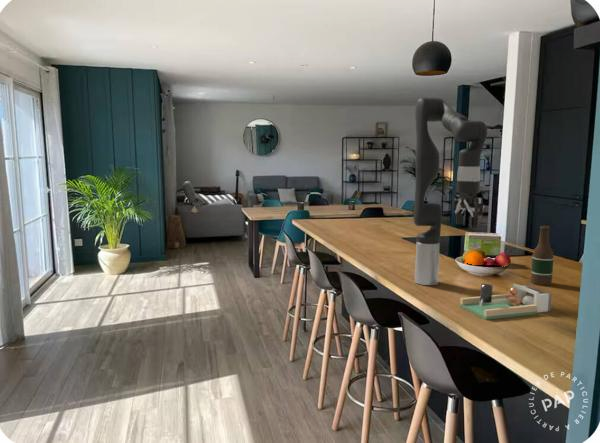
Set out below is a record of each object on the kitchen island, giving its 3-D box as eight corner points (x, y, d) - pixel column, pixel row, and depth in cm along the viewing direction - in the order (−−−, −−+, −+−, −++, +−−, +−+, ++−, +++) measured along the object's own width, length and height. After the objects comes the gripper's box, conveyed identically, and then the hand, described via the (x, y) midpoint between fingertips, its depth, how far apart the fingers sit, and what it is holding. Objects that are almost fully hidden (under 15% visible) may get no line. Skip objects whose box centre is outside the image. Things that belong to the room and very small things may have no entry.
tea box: (467, 265, 229) (468, 234, 227) (463, 260, 239) (464, 231, 236) (499, 266, 226) (501, 235, 224) (494, 261, 236) (496, 232, 234)
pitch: (460, 306, 166) (460, 298, 165) (508, 301, 171) (508, 293, 171) (485, 319, 152) (486, 310, 152) (537, 314, 158) (537, 305, 157)
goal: (511, 302, 170) (513, 283, 169) (526, 301, 172) (527, 282, 171) (535, 312, 159) (536, 292, 158) (550, 311, 161) (552, 291, 160)
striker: (475, 305, 162) (477, 283, 161) (510, 301, 166) (512, 280, 165) (485, 309, 157) (486, 287, 156) (521, 306, 161) (522, 284, 160)
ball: (529, 294, 167) (528, 304, 167) (520, 294, 166) (519, 305, 166) (538, 297, 163) (537, 308, 164) (528, 297, 162) (527, 309, 163)
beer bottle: (526, 282, 197) (530, 225, 194) (540, 280, 200) (544, 224, 197) (541, 286, 190) (545, 228, 187) (556, 284, 193) (560, 227, 190)
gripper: (447, 178, 169) (445, 223, 171) (471, 180, 155) (469, 229, 158) (465, 178, 171) (463, 222, 173) (491, 180, 157) (488, 228, 160)
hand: (466, 225), depth 165 cm, fingers open, 8 cm apart
